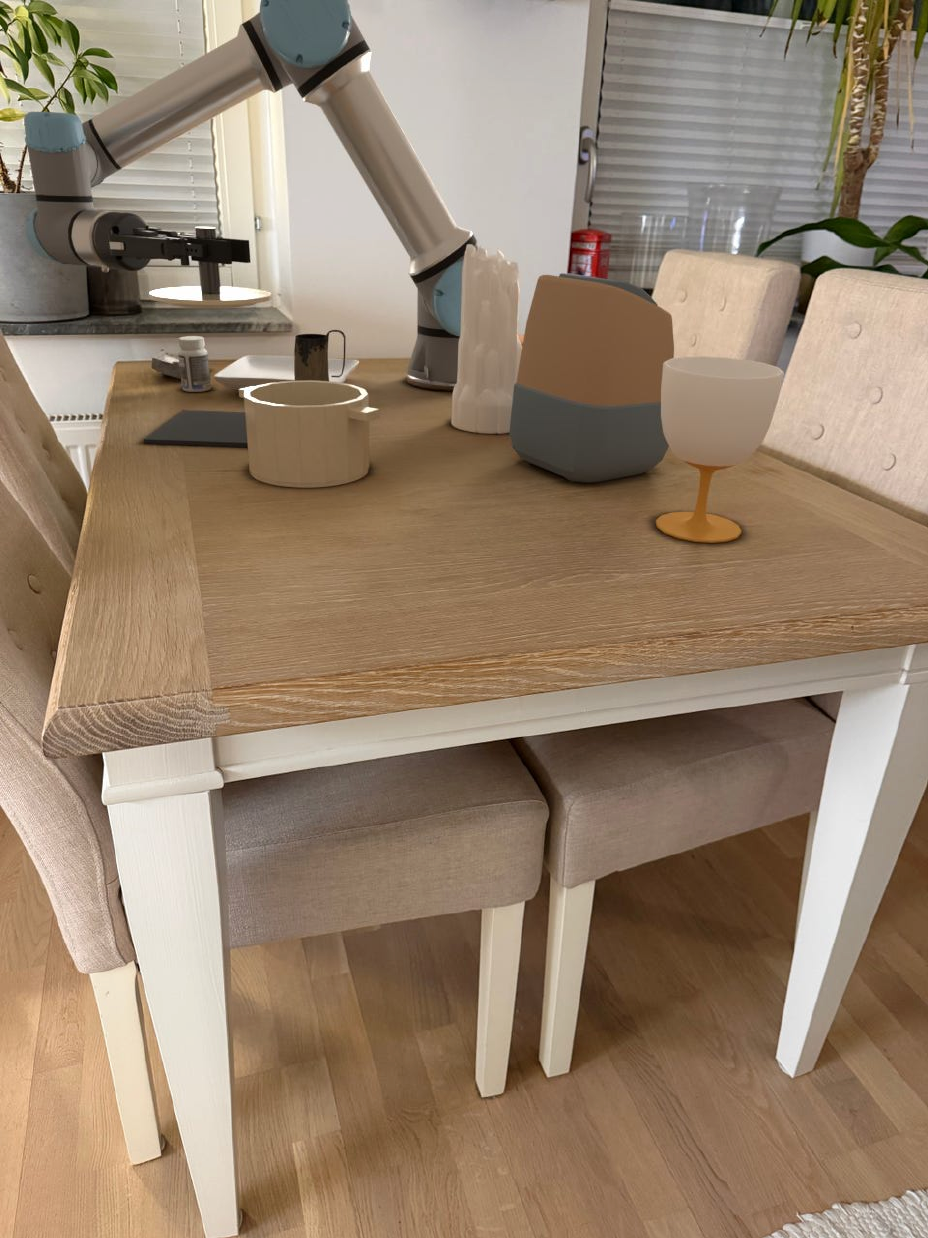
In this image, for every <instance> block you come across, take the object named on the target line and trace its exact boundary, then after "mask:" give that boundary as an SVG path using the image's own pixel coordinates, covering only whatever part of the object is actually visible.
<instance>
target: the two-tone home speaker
mask: <svg viewBox="0 0 928 1238" xmlns="http://www.w3.org/2000/svg"><path fill="white" fill-rule="evenodd" d="M529 308H530V309H529V310H528V315H527V318H526V323H525V329H524V334H523V335H524V340H523V346H522V352H521V358H520V364H519V370H518V376H517V382H516V384H515V385H514V391H513V401H512V411H511V421H510V431H509V433H508V434H509V437H510V441H511V445H512V448H513V450H514V451H515V452H516V454H517V455H518V456H519V457H520V458H521V459H522V460H524V461H525V462H526V463H528V464H529V465H535V466H537V467H539V468H542V469H544V470H547V471H550V472H551V473H554V474H557V475H559V476H562V477H564V478H565V479H566V480H567V481H569V482H573V483H581V484H591V483H602V482H606V481H611V480H617V479H621V478H626V477H632V476H638V475H640V474H643V473H645V472H648V471H650V470H653V469H654V468H655V467H656V466H658V465H659V464H660V463H661V462H662V461H663V459H664V457H665V455H666V453H667V452H668V450H669V448H670V447H669V445H668V443H667V441H666V438H665V436H664V433H663V427H662V420H661V385H662V373H663V363H664V362H665V361H667V360H669V359H673V358H675V342H674V329H673V317H672V316H673V315H672V314H671V313H670V312H669V311H667V310H666V309H664V308H663V307H660V305H658V303H657V302H656V301H655V299H654V298H653V297H652V296H651V295H649V294H648V293H647V292H646V291H645V290H644V289H642V288H641V287H639V286H637V285H635V284H633V283H630V282H626V281H621V280H617V279H616V280H615V279H610V278H602V277H596V276H588V275H582V274H576V273H559V275H552V274H541V275H539V277H538V278H537V281H536V284H535V289H534V293H533V296H532V300H531V304H530V307H529Z"/></svg>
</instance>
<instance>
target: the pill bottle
mask: <svg viewBox="0 0 928 1238" xmlns="http://www.w3.org/2000/svg"><path fill="white" fill-rule="evenodd" d="M178 346H179V348H180V349H179V350H178V351H177V355H178V357H179V365H180V373H181V379H180V382H181V389H182V390H183V391H185V392H189V393H203V392H208V391H210V390H211V389H212V383H211V372H210V362H209V354H208V351H207V349H206V348H204V347H205V339H204V337H203V336H198V335H187V336H181V337H179V338H178Z"/></svg>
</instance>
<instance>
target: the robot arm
mask: <svg viewBox="0 0 928 1238" xmlns="http://www.w3.org/2000/svg"><path fill="white" fill-rule="evenodd" d="M371 57H372V49H370V47H369V45H368V43H367V41H366V39H365V37H364V35H363V34H362V33H361V30H360V29H359V26H358V25H357V23H356V21H355V19H354V17H353V16H352V13H351V8H350V4H349V0H260V4H259V12H258V13H256V14H255V15H254V16H253V17H251V18H250V19H248V20H246V21H245V22H243V23H240V24H239V27H238V31H237V35H236V36H235V37H233V38H231V39H230V40H228V41H226V42H224V43H223V44H221V45H219V46H217V47H215V48H213V49H212V50H210V51H208V52H207V53H205V54H203V55H202V56H200V57H198V58H196V59H194V60H193V61H191V62H189V63H187V64H185V65H184V66H182V67H180V68H178V69H177V70H175V71H173V72H172V73H169V74H167V75H166V76H164V77H162V78H160V79H158V80H157V81H156V82H154V83H152V84H150V85H148V86H147V87H145V88H143V89H141V90H139V91H138V92H136V93H134V94H132V95H130V96H128V97H127V98H125V99H123V100H121V101H119V102H118V103H116V104H114V105H113V106H111V107H109V108H107V109H106V110H104V111H102V112H100V113H98V114H96V115H95V116H93V117H91V118H90V119H89V120H86V121H84V122H82V119H81V118H80V117H79V116H78V115H76V114H74V113H69V112H68V113H66V112H57V111H56V112H54V111H28V112H27V113H26V114H25V115H24V118H23V122H24V123H23V124H24V132H25V133H24V134H25V136H24V142H25V144H26V146H27V152H28V159H29V164H30V170H31V177H32V183H33V188H34V193H35V205H36V208H34V209H33V210H32V211H31V212H30V213H29V214H28V216H27V220H26V224H25V236H26V239H27V242H28V244H29V246H30V247H31V249H32V251H34V252H35V253H36V254H37V255H38V256H39V257H41V258H43V259H44V260H47V261H52V262H56V263H60V264H62V265H75V266H84V267H95V268H101V271H102V273H109V271H110V269H114V270H118V271H127V272H138V271H142V270H143V269H144V268H146V267H147V266H148V265H149V263H150V262H151V260H167V261H169V262H172V261H174V260H180V266H183V267H188V266H191V264H190V259H191V261H192V262H198V261H200V262H210V263H219V265H220V264H221V265H233V263H244V264H251V249H250V248H251V247H250V240H249V239H239V238H227V237H223V236H220V235H217V240H212V239H200V238H196V234H194V233H193V234H192V233H187V232H185V231H181V232H178V231H175V230H164V229H162V228H160V227H150V226H149V224H148V223H147V222H146V220H144V218H142V217H141V216H140V215H138V214H136V213H134V212H128V211H113V210H106V209H105V210H104V209H95V208H94V199H93V198H94V197H93V193H92V188H95V187H97V186H99V185H101V184H102V183H103V182H104V180H106V178H109V177H110V176H112V175H113V174H115V173H118V172H119V171H120V170H122V169H124V168H126V167H127V166H129V165H131V164H133V163H134V162H136V161H139V159H141V158H144V157H145V156H147V155H149V154H151V153H152V152H154V151H156V150H158V149H160V148H162V147H163V146H165V145H167V144H169V143H171V142H173V141H174V140H176V139H178V138H179V137H181V136H183V135H185V134H187V133H189V132H190V131H192V130H194V129H196V128H198V127H199V126H201V125H203V124H205V123H207V122H208V121H211V120H212V119H215V117H217V116H220V115H221V114H223V113H225V112H226V111H228V110H230V109H232V108H233V107H235V106H237V105H239V104H241V103H243V102H244V101H246V100H248V99H250V98H252V97H253V96H255V95H258V94H259V93H261V92H263V91H266V92H270V93H272V94H275V93H277V92H278V91H281V90H282V89H284V88H287V87H288V86H290V85H293V86H294V87H295V89H296V91H297V93H298V94H299V96H300V97H301V99H302V101H303V102H305V103H309V104H312V105H315V106H317V107H319V108H320V110H321V111H322V113H323V115H324V116H325V119H326V120H327V121H328V123H329V125H330V127H331V128H332V130H333V132H334V133H335V135H336V136H337V137H338V140H339V141H340V143H341V145H342V146H343V149H344V150H345V151H346V153H347V155H348V156H349V158H350V160H351V161H352V163H353V165H354V167H355V169H356V170H357V171H358V173H359V175H360V177H361V178H362V180H363V182H364V183H365V185H366V186H367V188H368V190H369V192H370V193H371V195H372V196H373V198H374V200H375V201H376V203H377V205H378V206H379V208H380V210H381V211H382V213H383V215H384V216H385V218H386V220H387V222H388V223H389V225H390V227H391V229H392V230H393V231H394V233H395V235H396V236H397V238H398V240H399V242H400V243H401V245H402V246H403V248H404V250H405V251H406V253H407V255H408V256H409V259H410V261H409V268H408V275H409V277H410V278H411V280H412V281H413V284H414V285H415V287H416V289H417V301H416V302H417V306H416V307H417V308H416V311H417V312H416V313H417V318H416V325H417V326H416V327H417V331H416V332H417V333H416V334H417V336H416V340H415V343H414V346H413V350H412V353H411V356H410V360H409V363H408V365H407V370H406V381H407V383H408V384H410V385H411V386H414V387H417V388H422V389H426V390H427V389H428V390H436V391H453V390H454V386H455V384H456V383H457V374H458V343H459V338H460V332H461V296H462V267H463V261H464V255H465V251H466V246H467V245H468V244H472V245H473V246H474V247H475V248H476V251H477V249H478V248H480V247H482V248H484V249H485V247H484V246H483V245H481V244H479V242H478V240H477V238H476V236H475V235H474V233H473V231H472V230H469V229H466V228H463V227H460V226H458V225H457V223H456V221H455V220H454V218H453V217H452V215H451V212H450V211H449V209H448V207H447V205H446V204H445V202H444V200H443V199H442V197H441V194H440V193H439V191H438V190H437V188H436V186H435V185H434V183H433V181H432V178H431V177H430V175H429V174H428V172H427V170H426V168H425V166H424V165H423V163H422V161H421V160H420V157H419V156H418V154H417V152H416V150H415V149H414V147H413V145H412V143H411V142H410V140H409V138H408V137H407V135H406V133H405V131H404V128H402V126H401V124H400V121H399V120H398V119H397V117H396V115H395V113H394V112H393V110H392V108H391V106H390V105H389V103H388V101H387V98H386V97H385V95H384V94H383V92H382V90H381V88H380V87H379V85H378V83H377V81H376V79H375V78H374V75H373V74H372V73H371V70H370V64H371Z"/></svg>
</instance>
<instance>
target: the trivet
mask: <svg viewBox="0 0 928 1238" xmlns="http://www.w3.org/2000/svg"><path fill="white" fill-rule="evenodd" d="M143 444H148V445H149V444H150V445H174V446H175V445H176V446H202V447H203V446H204V447H227V448H228V447H231V448H248V442H247V429H246V417H245V411H226V410H225V411H222V410H197V409H195V410H193V409H192V410H191V409H183V410H180V412H178V413H177V414H175V415H174V416H172V417H171V418H170V419H169V420H167V421H165V423H163V424H162V425H161V426H159V427H158V428H156V429H155V430H154V431H152V432H151V433H150V434H149V435H147V436H145V437H144V438H143Z"/></svg>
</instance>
